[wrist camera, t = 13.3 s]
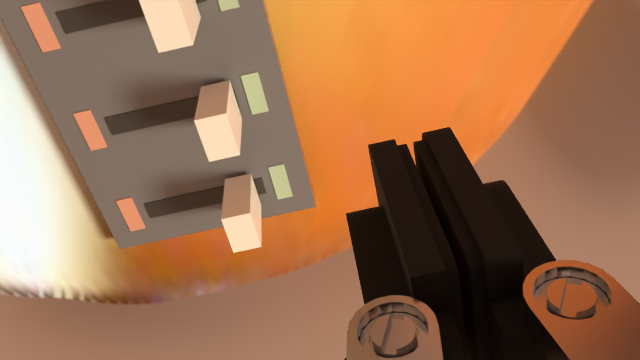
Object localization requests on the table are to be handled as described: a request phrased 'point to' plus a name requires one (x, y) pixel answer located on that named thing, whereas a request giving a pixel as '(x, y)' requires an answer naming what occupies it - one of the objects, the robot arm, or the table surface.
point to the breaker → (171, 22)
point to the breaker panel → (161, 110)
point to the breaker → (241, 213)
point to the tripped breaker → (219, 121)
